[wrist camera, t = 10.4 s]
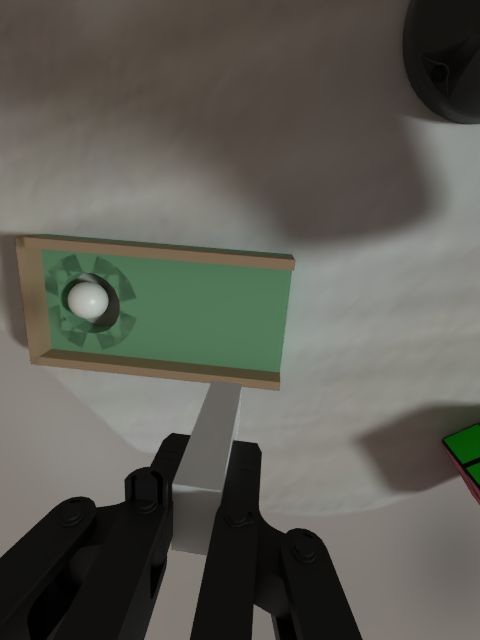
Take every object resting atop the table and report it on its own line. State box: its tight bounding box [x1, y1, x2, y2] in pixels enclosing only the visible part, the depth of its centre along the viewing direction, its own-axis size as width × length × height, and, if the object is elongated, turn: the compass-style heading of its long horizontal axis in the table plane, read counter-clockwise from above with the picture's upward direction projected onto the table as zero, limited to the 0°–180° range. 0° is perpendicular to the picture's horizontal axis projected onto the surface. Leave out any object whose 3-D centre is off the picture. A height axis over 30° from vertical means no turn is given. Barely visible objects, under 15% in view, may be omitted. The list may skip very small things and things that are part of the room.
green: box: [14, 234, 295, 391], centre depth 36 cm, size 14×28×5 cm, turn 86°
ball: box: [68, 282, 108, 319], centre depth 37 cm, size 4×4×4 cm
